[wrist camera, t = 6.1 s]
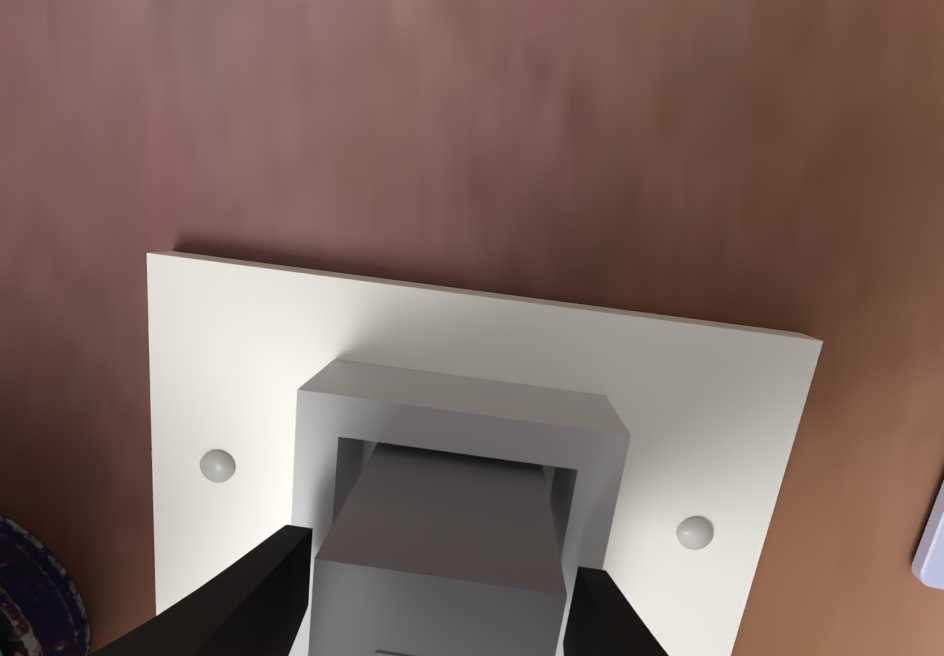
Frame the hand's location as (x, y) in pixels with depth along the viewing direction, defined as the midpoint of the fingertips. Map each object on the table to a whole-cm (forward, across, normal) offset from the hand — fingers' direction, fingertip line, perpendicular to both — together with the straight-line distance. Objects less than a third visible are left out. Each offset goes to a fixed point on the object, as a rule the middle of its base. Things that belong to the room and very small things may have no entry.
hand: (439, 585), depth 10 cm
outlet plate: (+4, 0, 0) cm, 4 cm away
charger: (+3, 0, 0) cm, 3 cm away
